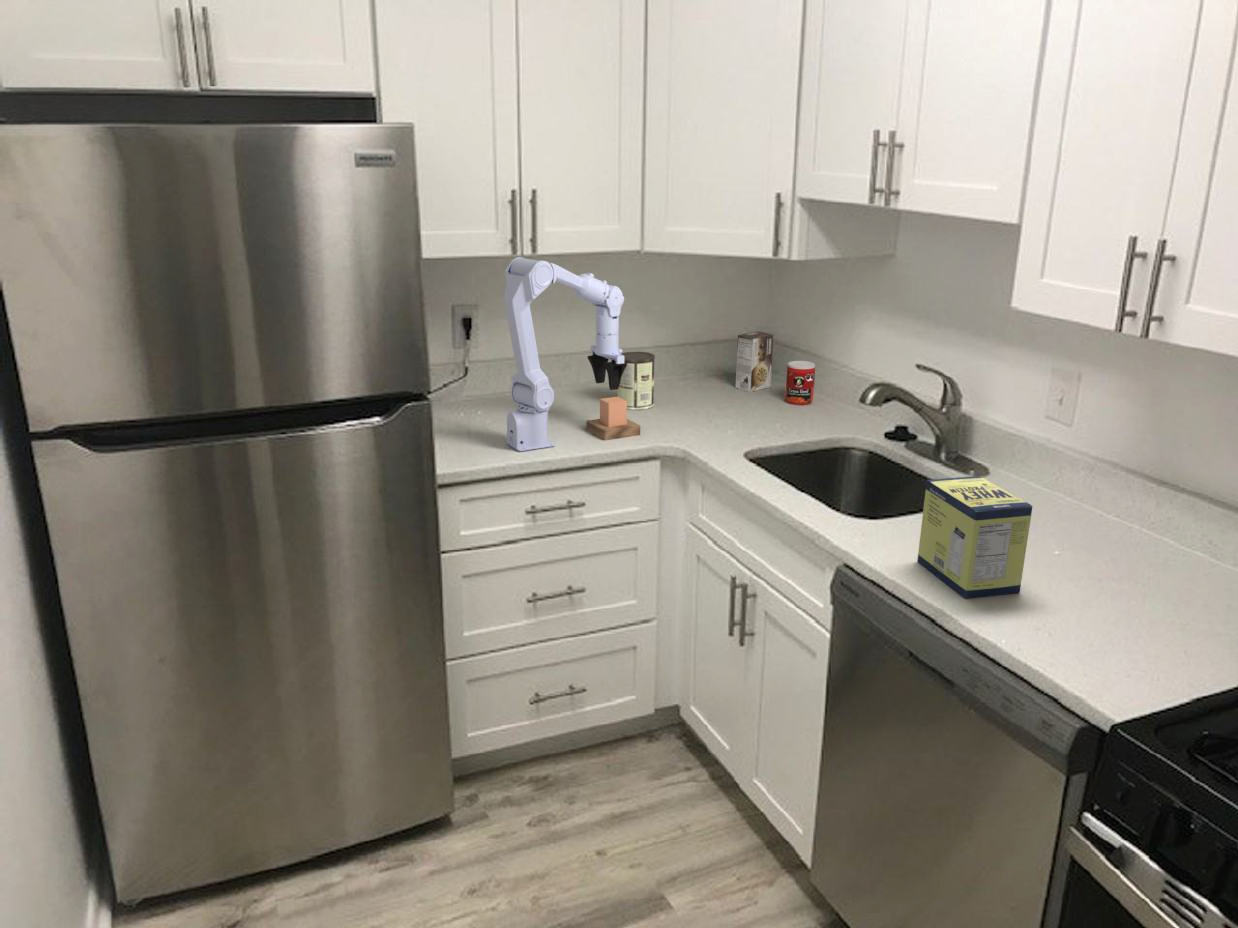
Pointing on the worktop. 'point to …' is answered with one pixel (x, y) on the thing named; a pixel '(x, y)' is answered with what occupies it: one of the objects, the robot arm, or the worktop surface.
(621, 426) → the walnut base
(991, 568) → the protein box
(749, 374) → the brown white food box
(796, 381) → the canned food
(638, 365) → the coffee can
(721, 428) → the worktop surface
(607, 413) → the terracotta block
